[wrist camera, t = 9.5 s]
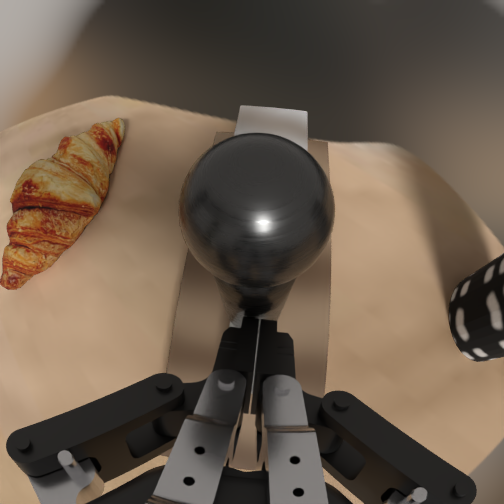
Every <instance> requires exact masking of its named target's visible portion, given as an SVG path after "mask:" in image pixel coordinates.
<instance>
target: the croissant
mask: <svg viewBox="0 0 504 504" xmlns="http://www.w3.org/2000/svg"><path fill="white" fill-rule="evenodd" d="M124 132H125V126H124V122H123V120H122V119H121V118H117V119H115V120H114V121H113V122H112V121H110V122H102V123H96V124H94V125H93V126H92V128H91V129H90V130H89V131H88V132H83V133H81V134H79V135H77V136H70V137H64V138H63V139H62V140H61V142H60V144H59V147H58V150H57V153H56V154H54V155H53V156H52V158H48V159H47V160H44V159H41V160H38V161H36V162H35V163H33V164H32V165H31V166H30V167H29V168H28V169H26V170H25V171H24V172H23V174H22V175H21V177H20V179H19V180H18V181H17V183H16V186H15V189H14V191H13V194H12V197H11V199H10V202H11V203H12V210H13V216H12V217H11V219H10V220H9V222H8V224H7V232H8V236H9V238H10V243H9V245H7V246H6V247H5V249H4V254H3V258H2V261H3V273H2V276H1V279H0V285H2V286H3V287H4V288H6V289H9V290H10V289H11V290H15V289H17V288H21V287H22V286H23V285H24V284H25V283H26V282H27V280H30V278H31V277H33V275H35V274H38V273H40V272H42V271H44V270H46V269H47V268H48V267H51V265H52V264H53V263H54V262H55V261H57V259H58V257H59V256H60V255H61V254H62V253H63V251H65V250H66V249H68V248H69V247H71V246H72V245H73V244H74V242H75V241H76V240H77V239H78V237H79V236H80V235H81V233H82V232H83V230H84V228H85V226H86V225H87V224H88V223H89V222H90V221H91V220H92V219H93V216H94V215H96V214H97V213H98V211H99V209H100V206H101V203H102V202H103V201H104V199H105V197H106V194H107V191H108V188H109V174H111V172H112V171H113V168H114V164H115V162H116V153H117V148H118V147H119V146H120V145H121V143H122V139H123V137H124Z"/></svg>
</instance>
